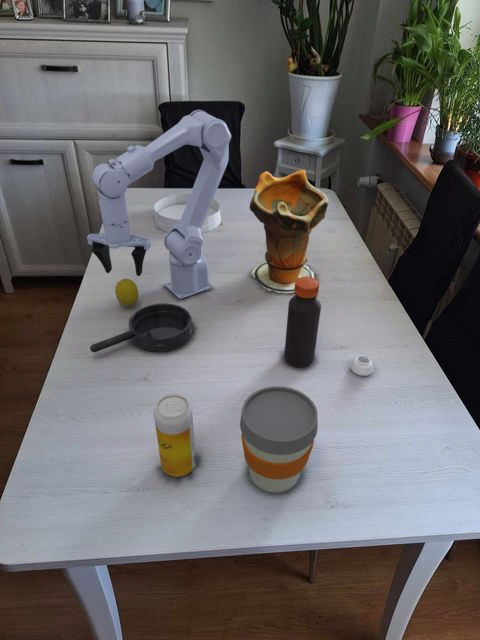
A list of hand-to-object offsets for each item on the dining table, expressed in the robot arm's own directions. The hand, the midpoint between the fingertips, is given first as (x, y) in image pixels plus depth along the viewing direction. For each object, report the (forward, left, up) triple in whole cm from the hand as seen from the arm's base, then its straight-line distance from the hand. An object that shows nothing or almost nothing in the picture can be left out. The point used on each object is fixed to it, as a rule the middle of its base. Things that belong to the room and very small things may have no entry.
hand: (124, 272), depth 119 cm
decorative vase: (-42, +12, -10) cm, 45 cm away
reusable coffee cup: (+2, +62, -10) cm, 63 cm away
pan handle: (+11, +15, -7) cm, 20 cm away
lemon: (0, 0, -10) cm, 10 cm away
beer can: (+15, +51, -10) cm, 55 cm away
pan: (-1, +15, -9) cm, 18 cm away
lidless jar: (-31, +52, -10) cm, 62 cm away
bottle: (-22, +41, -10) cm, 48 cm away
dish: (-39, -36, -10) cm, 53 cm away
